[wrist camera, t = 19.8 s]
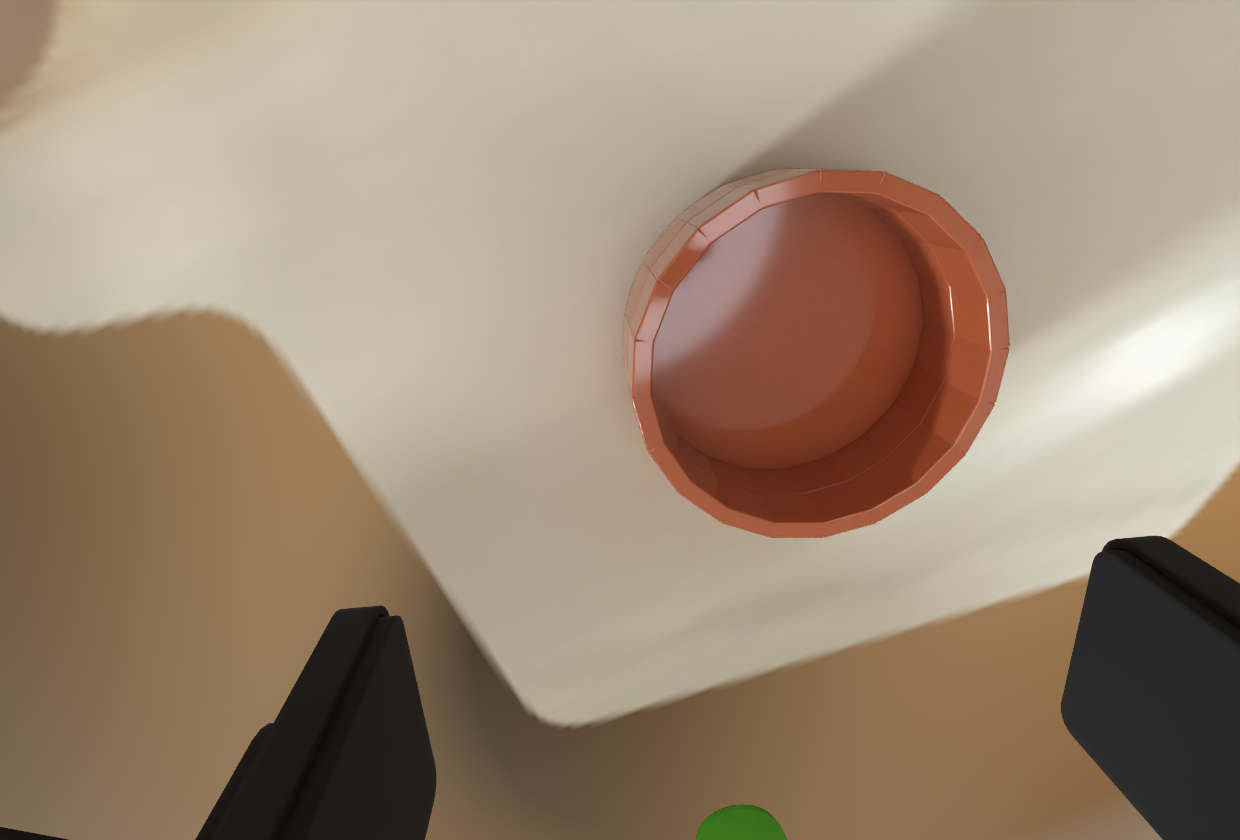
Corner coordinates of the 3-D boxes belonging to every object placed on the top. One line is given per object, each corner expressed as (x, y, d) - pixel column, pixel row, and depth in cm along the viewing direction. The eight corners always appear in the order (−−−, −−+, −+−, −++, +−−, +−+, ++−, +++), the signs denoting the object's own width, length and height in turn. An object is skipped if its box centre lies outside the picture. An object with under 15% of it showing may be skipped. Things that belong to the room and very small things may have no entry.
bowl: (629, 163, 26) (641, 161, 20) (961, 176, 26) (1053, 177, 21) (617, 475, 30) (625, 538, 25) (899, 477, 31) (962, 538, 26)
